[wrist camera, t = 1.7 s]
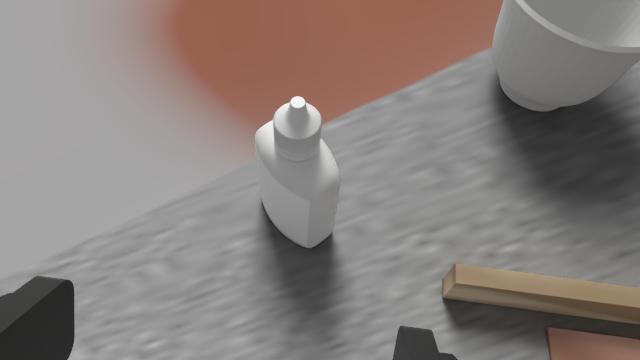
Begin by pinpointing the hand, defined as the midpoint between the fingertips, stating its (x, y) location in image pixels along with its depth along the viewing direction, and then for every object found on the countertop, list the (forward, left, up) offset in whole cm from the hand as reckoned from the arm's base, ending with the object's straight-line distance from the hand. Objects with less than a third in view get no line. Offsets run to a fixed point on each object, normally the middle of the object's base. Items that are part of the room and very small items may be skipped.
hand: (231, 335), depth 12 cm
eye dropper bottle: (-12, 0, -18) cm, 22 cm away
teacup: (-28, +18, -18) cm, 38 cm away
